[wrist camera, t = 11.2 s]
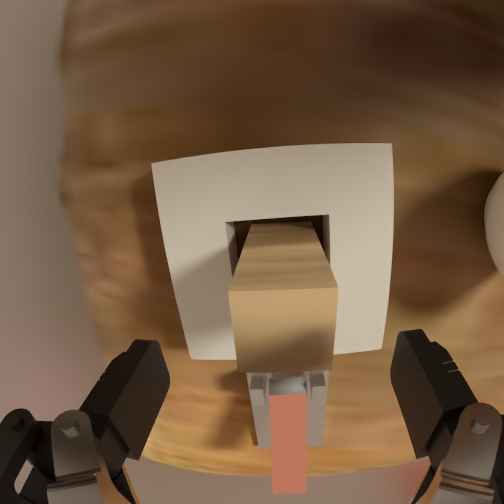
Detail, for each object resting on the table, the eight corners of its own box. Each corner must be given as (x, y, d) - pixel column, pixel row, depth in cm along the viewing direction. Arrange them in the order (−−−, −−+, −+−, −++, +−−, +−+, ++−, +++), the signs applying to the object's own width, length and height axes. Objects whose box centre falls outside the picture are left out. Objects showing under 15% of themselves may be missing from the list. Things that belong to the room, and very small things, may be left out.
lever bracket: (244, 355, 24) (240, 380, 21) (328, 350, 23) (333, 376, 20) (259, 444, 28) (257, 466, 25) (321, 441, 28) (322, 463, 25)
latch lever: (269, 376, 23) (268, 380, 22) (305, 374, 23) (306, 378, 21) (273, 486, 21) (272, 494, 20) (305, 485, 21) (306, 493, 19)
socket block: (168, 160, 19) (151, 163, 16) (375, 143, 18) (391, 143, 15) (200, 336, 24) (191, 359, 21) (371, 326, 22) (381, 348, 19)
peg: (251, 224, 20) (228, 291, 11) (310, 221, 20) (338, 287, 10) (255, 278, 22) (238, 372, 12) (311, 275, 21) (331, 370, 12)
